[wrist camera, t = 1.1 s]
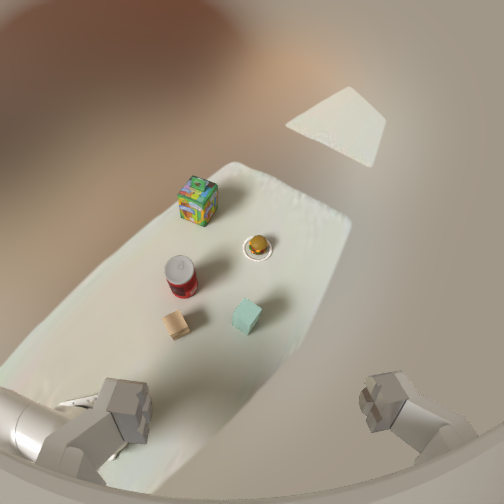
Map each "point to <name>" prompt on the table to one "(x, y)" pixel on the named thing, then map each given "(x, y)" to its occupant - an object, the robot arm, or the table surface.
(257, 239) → the hamburger
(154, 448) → the table surface
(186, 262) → the canned food
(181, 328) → the oak block
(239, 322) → the teal block
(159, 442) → the table surface
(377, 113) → the table surface
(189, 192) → the chalk box
